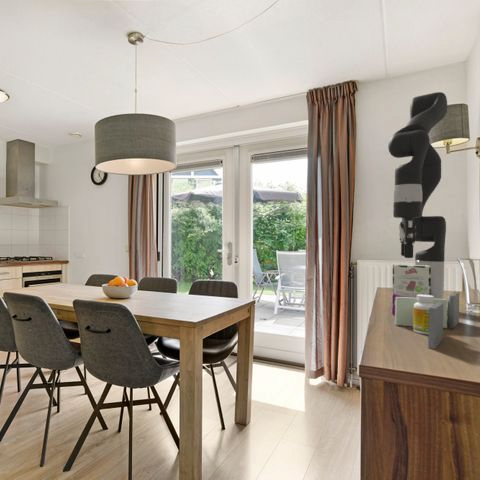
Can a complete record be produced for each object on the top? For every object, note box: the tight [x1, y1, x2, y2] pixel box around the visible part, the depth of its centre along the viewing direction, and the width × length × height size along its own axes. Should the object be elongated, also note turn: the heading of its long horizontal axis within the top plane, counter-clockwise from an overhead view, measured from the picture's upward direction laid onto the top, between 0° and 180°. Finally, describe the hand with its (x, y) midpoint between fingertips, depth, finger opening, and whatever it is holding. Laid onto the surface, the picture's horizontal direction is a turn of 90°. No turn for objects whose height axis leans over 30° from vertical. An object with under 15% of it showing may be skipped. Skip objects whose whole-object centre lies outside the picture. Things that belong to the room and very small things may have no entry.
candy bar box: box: [391, 264, 431, 316], centre depth 114 cm, size 11×5×16 cm, turn 68°
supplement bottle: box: [412, 294, 434, 336], centre depth 93 cm, size 5×5×10 cm
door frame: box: [427, 291, 460, 350], centre depth 92 cm, size 36×2×9 cm, turn 141°
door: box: [394, 297, 448, 329], centre depth 99 cm, size 13×1×8 cm, turn 81°
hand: (406, 256), depth 102 cm, fingers open, 8 cm apart
